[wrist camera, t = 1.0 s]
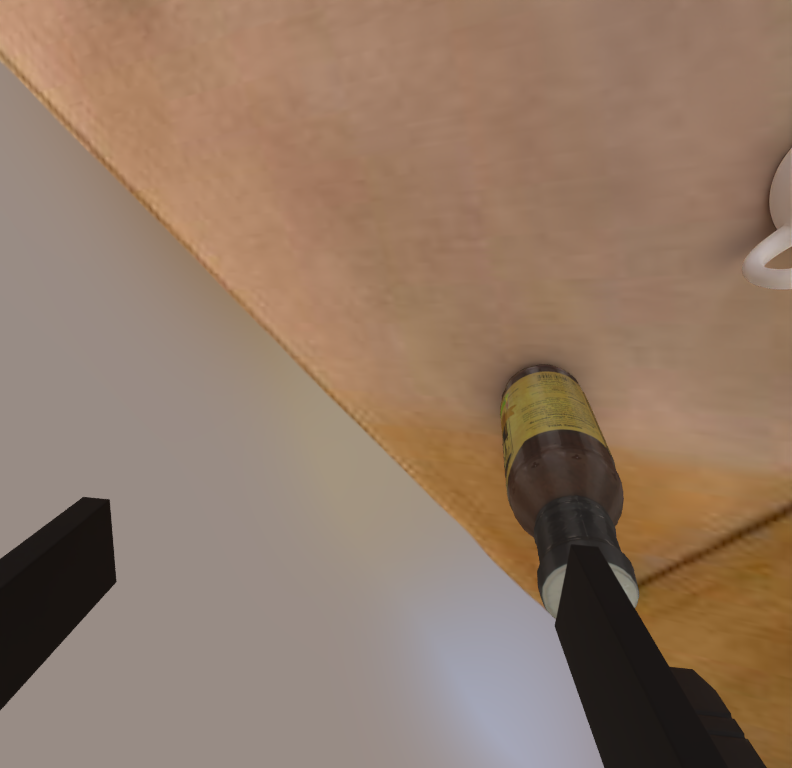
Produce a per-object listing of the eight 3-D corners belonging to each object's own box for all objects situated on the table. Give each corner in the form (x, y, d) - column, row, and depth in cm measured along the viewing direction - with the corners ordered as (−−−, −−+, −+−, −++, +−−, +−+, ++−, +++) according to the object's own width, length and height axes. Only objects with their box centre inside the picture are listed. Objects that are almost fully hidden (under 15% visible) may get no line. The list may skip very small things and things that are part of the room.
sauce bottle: (485, 386, 40) (480, 563, 22) (558, 346, 37) (621, 506, 19) (526, 448, 41) (554, 664, 23) (599, 413, 39) (694, 621, 21)
